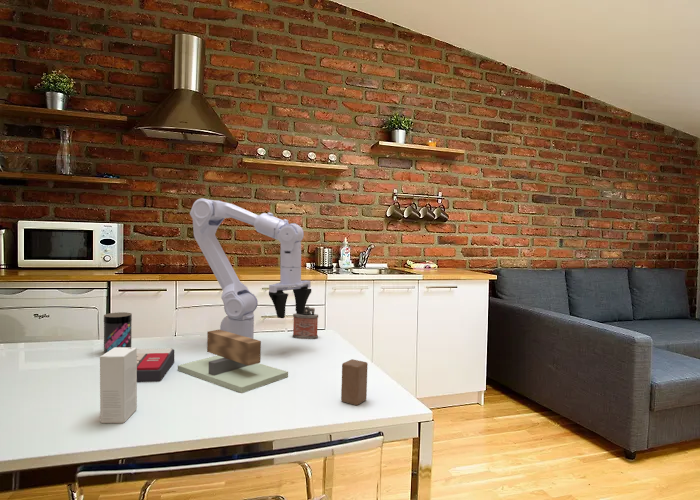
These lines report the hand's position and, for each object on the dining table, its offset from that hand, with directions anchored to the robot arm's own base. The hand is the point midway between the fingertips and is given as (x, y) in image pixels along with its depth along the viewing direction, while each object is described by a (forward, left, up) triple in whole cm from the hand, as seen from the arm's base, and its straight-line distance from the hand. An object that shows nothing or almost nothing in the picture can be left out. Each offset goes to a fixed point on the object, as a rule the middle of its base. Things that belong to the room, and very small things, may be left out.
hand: (290, 315), depth 128 cm
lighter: (-8, +16, -11) cm, 21 cm away
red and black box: (-14, -35, -11) cm, 39 cm away
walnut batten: (+3, -22, -6) cm, 23 cm away
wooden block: (+35, -17, -11) cm, 40 cm away
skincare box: (+7, -51, -11) cm, 53 cm away
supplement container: (-33, -31, -11) cm, 47 cm away
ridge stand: (+3, -22, -10) cm, 25 cm away
